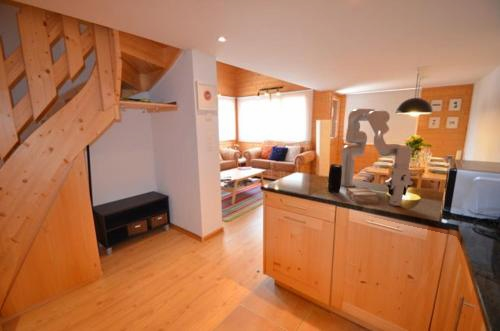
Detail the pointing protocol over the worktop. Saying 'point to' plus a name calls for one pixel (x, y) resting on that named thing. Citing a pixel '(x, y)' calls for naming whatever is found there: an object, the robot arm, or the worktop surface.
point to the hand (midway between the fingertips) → (396, 194)
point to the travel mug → (397, 194)
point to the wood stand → (361, 195)
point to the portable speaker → (335, 178)
